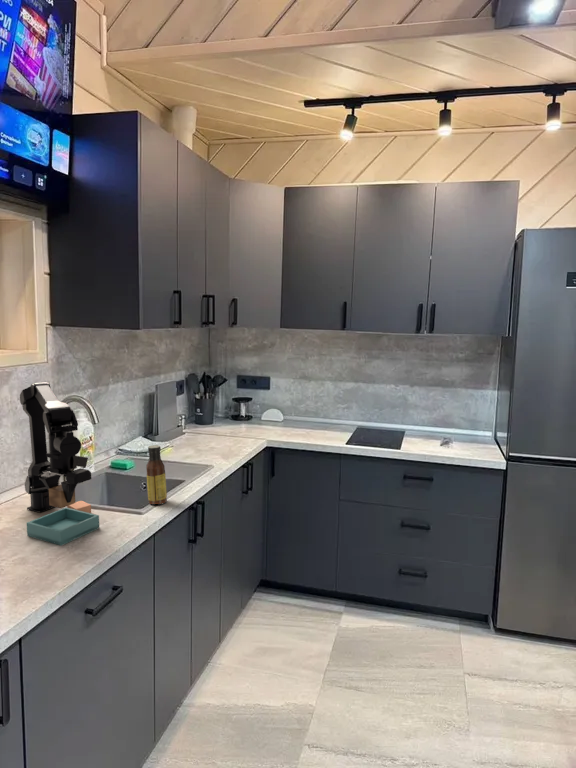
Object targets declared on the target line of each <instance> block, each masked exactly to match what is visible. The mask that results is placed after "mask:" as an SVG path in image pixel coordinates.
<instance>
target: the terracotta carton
mask: <svg viewBox="0 0 576 768" xmlns="http://www.w3.org/2000/svg"><path fill="white" fill-rule="evenodd" d="M66 507H67V508H71V509H75V510H79V511H83V512H87V513H91V514H92V504H90V503H88V502H86V501H83V500H79V501H75V503H74V504H71V505H69V506H66Z"/></svg>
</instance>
